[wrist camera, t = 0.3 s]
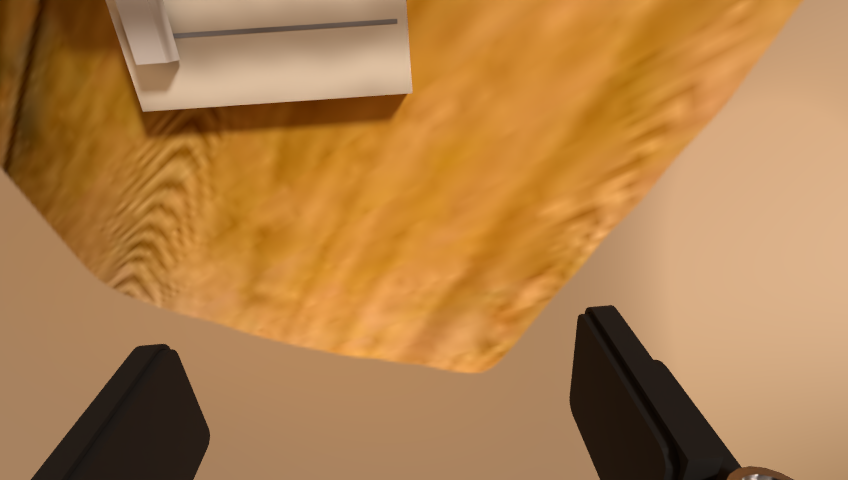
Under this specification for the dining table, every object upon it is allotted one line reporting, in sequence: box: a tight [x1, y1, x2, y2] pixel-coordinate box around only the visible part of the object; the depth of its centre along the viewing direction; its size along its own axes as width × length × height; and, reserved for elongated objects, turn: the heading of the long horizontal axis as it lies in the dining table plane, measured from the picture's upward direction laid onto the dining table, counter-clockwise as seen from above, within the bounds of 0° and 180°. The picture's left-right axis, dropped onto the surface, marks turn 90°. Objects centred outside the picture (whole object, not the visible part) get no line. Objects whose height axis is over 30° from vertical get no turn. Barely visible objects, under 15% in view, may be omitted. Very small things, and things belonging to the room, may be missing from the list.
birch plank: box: [105, 0, 412, 112], centre depth 33 cm, size 10×20×3 cm, turn 93°
